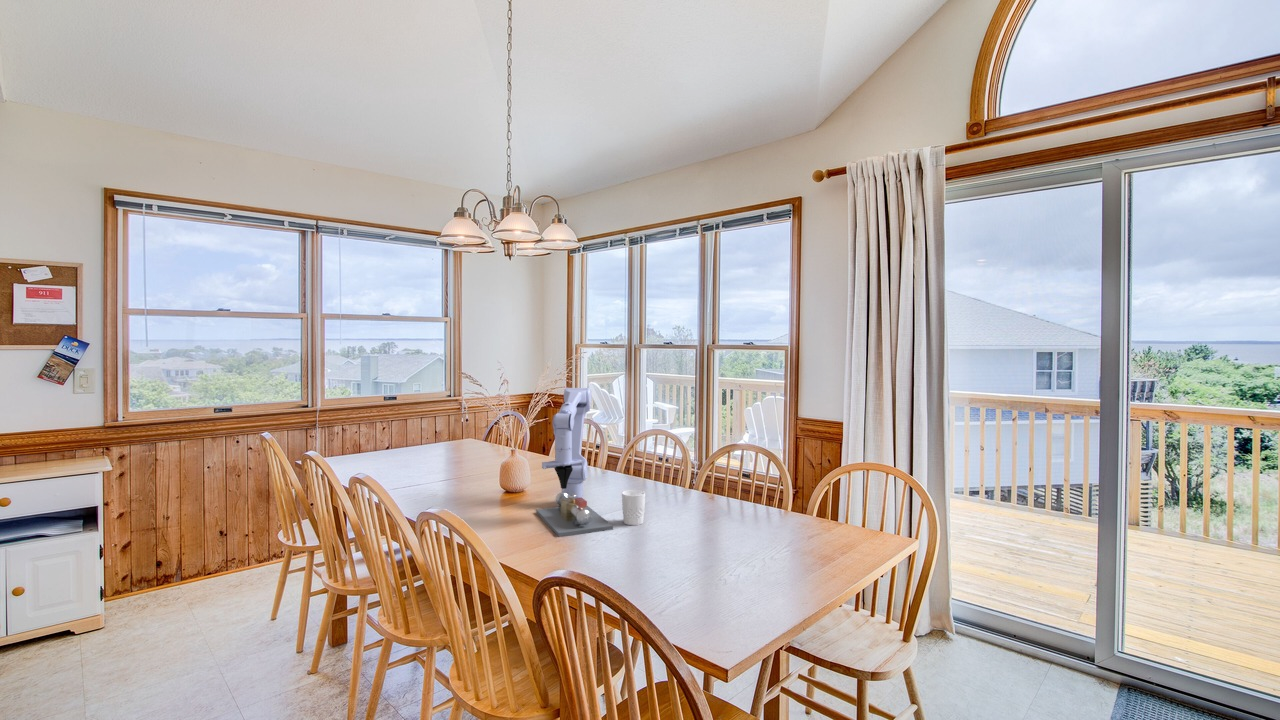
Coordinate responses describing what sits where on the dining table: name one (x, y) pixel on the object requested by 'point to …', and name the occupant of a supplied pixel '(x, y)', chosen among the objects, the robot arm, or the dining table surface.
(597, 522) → the mounting board
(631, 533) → the dining table surface
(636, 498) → the white cup
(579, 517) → the valve body
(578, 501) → the valve lever
